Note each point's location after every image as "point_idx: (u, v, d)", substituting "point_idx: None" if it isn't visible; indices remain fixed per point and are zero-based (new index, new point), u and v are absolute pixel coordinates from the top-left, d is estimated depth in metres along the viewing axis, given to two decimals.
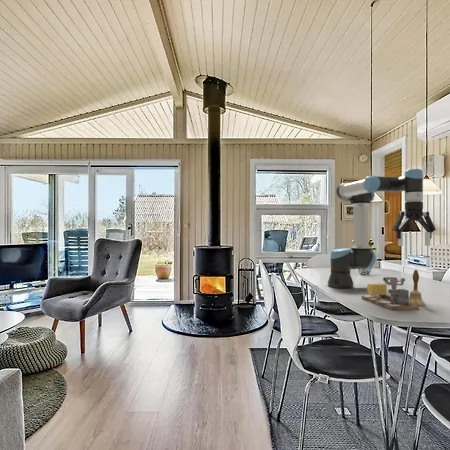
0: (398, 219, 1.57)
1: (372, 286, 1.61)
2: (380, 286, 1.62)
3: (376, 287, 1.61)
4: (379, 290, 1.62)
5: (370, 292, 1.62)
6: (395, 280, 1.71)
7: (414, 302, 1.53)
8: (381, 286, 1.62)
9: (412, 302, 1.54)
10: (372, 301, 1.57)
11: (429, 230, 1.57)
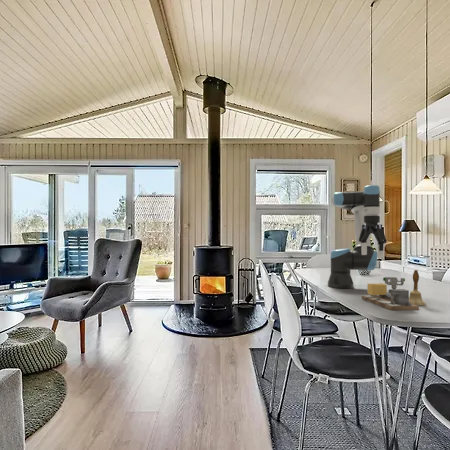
0: None
1: (372, 286, 1.61)
2: (380, 286, 1.62)
3: (376, 287, 1.61)
4: (379, 290, 1.62)
5: (370, 292, 1.62)
6: (395, 280, 1.71)
7: (414, 302, 1.53)
8: (381, 286, 1.62)
9: (412, 302, 1.54)
10: (372, 301, 1.57)
11: (378, 242, 1.63)
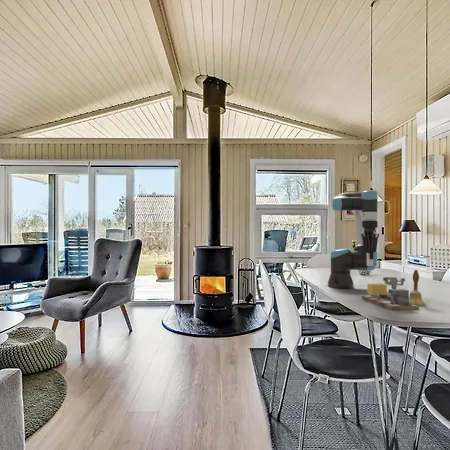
0: None
1: (372, 286, 1.61)
2: (380, 286, 1.62)
3: (376, 287, 1.61)
4: (379, 290, 1.62)
5: (370, 292, 1.62)
6: (395, 280, 1.71)
7: (414, 302, 1.53)
8: (381, 286, 1.62)
9: (412, 302, 1.54)
10: (372, 301, 1.57)
11: (368, 250, 1.70)
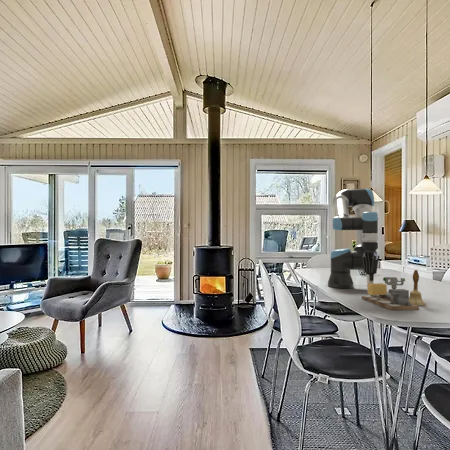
0: None
1: (372, 286, 1.61)
2: (380, 286, 1.62)
3: (376, 287, 1.61)
4: (379, 290, 1.62)
5: (370, 292, 1.62)
6: (395, 280, 1.71)
7: (414, 302, 1.53)
8: (381, 286, 1.62)
9: (412, 302, 1.54)
10: (372, 301, 1.57)
11: (368, 272, 1.69)
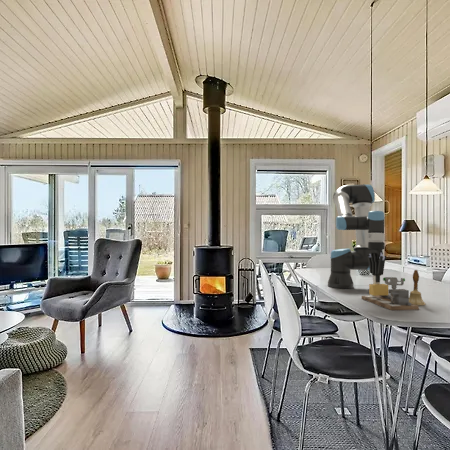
0: None
1: (374, 287, 1.60)
2: (382, 287, 1.60)
3: (378, 288, 1.60)
4: (381, 291, 1.60)
5: (372, 293, 1.61)
6: (395, 280, 1.71)
7: (414, 302, 1.53)
8: (383, 287, 1.60)
9: (412, 302, 1.54)
10: (372, 301, 1.57)
11: (375, 273, 1.64)
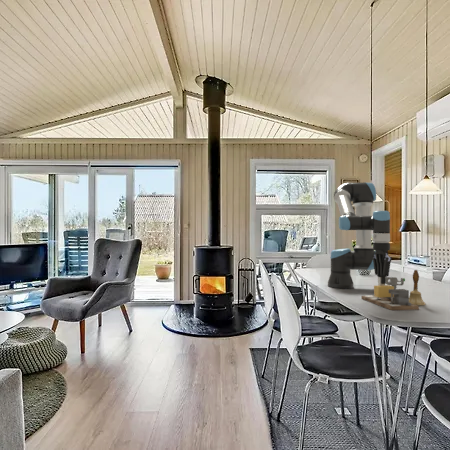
0: None
1: (379, 288, 1.56)
2: (387, 288, 1.56)
3: (383, 289, 1.56)
4: (386, 292, 1.56)
5: (377, 294, 1.57)
6: (395, 280, 1.71)
7: (414, 302, 1.53)
8: (388, 288, 1.56)
9: (412, 302, 1.54)
10: (372, 301, 1.57)
11: (380, 274, 1.60)
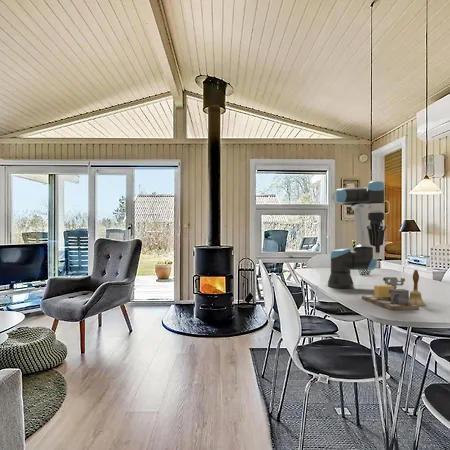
0: None
1: (379, 288, 1.56)
2: (387, 288, 1.56)
3: (383, 289, 1.56)
4: (386, 292, 1.56)
5: (377, 294, 1.56)
6: (395, 280, 1.71)
7: (414, 302, 1.53)
8: (388, 288, 1.56)
9: (412, 302, 1.54)
10: (372, 301, 1.57)
11: (375, 243, 1.64)
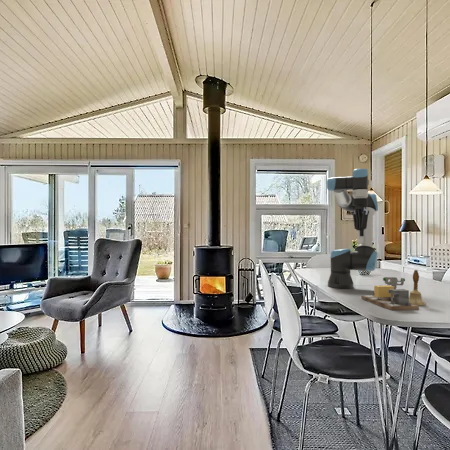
0: None
1: (379, 288, 1.56)
2: (387, 288, 1.56)
3: (383, 289, 1.56)
4: (386, 292, 1.56)
5: (377, 294, 1.56)
6: (395, 280, 1.71)
7: (414, 302, 1.53)
8: (388, 288, 1.56)
9: (412, 302, 1.54)
10: (372, 301, 1.57)
11: (359, 227, 1.72)
